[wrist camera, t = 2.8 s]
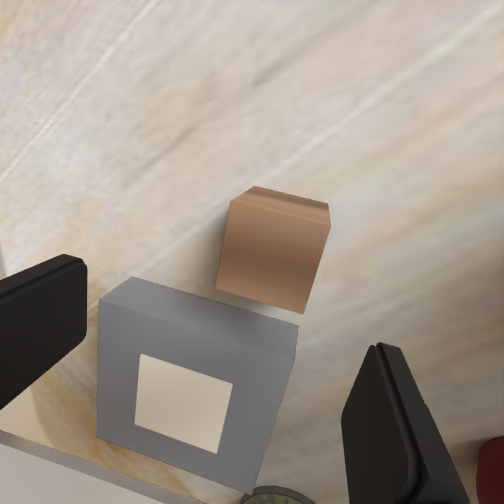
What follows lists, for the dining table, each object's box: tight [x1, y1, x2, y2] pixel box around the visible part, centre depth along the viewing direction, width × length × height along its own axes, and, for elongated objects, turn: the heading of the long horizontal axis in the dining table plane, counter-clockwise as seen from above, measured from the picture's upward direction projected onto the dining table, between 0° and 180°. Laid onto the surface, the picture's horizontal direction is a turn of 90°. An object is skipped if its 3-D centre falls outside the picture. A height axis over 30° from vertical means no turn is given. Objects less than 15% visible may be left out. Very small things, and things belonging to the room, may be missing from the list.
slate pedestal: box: [97, 277, 299, 495], centre depth 25 cm, size 14×14×4 cm
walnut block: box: [215, 186, 331, 314], centre depth 18 cm, size 5×5×6 cm
